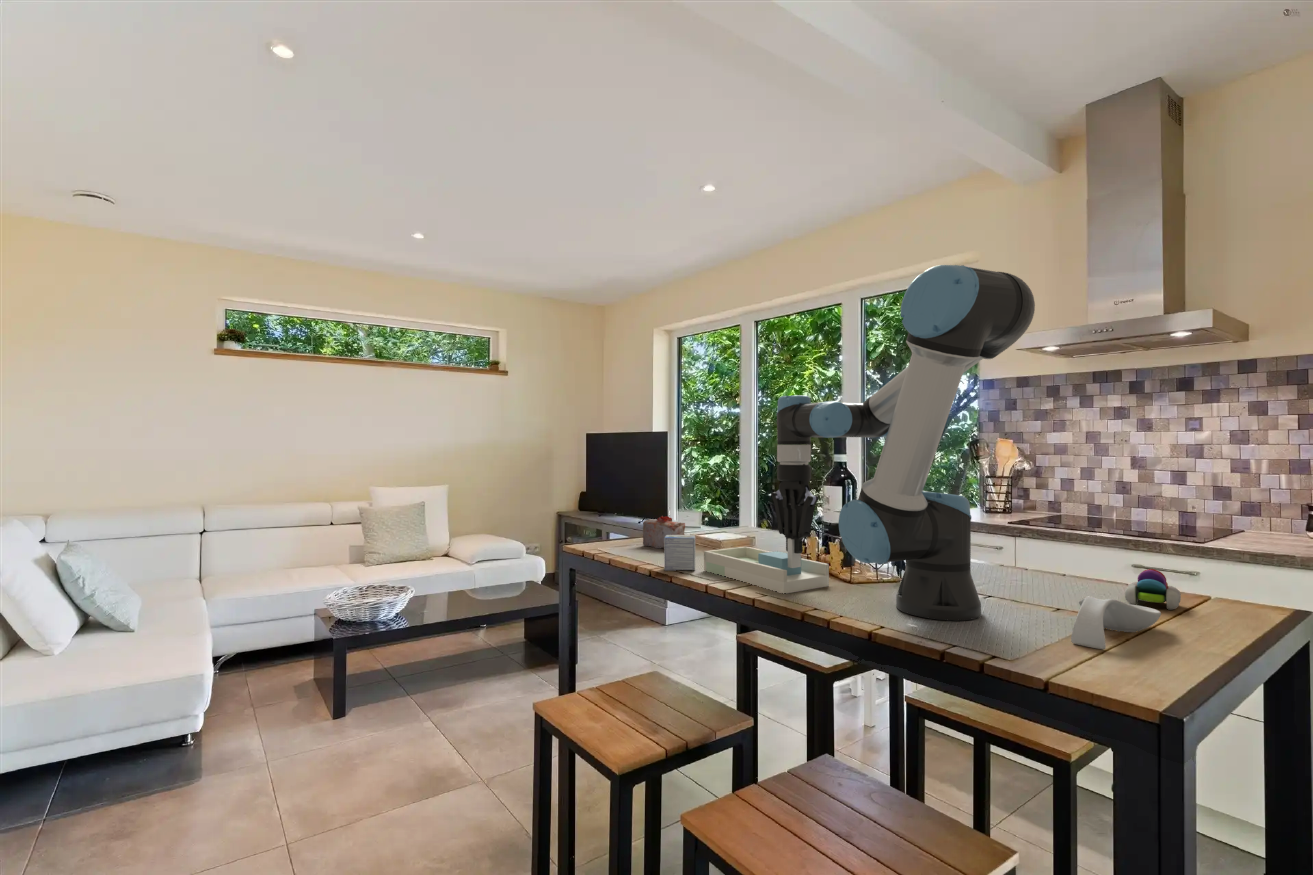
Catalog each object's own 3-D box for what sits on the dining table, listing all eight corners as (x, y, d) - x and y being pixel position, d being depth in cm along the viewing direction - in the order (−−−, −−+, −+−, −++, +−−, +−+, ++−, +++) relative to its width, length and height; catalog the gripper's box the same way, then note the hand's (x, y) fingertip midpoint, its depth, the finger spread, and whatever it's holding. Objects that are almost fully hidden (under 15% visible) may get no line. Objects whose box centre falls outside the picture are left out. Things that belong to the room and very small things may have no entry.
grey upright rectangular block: (695, 568, 165) (695, 534, 165) (694, 571, 160) (694, 537, 161) (665, 567, 166) (665, 534, 166) (664, 570, 161) (664, 537, 161)
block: (801, 573, 146) (801, 556, 146) (782, 576, 142) (781, 558, 142) (777, 567, 152) (777, 551, 152) (758, 570, 149) (758, 553, 149)
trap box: (828, 586, 144) (828, 564, 144) (783, 594, 136) (783, 570, 136) (746, 565, 168) (746, 546, 168) (704, 570, 161) (703, 551, 161)
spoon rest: (1089, 615, 121) (1089, 577, 121) (1167, 628, 112) (1167, 588, 112) (1048, 640, 105) (1047, 597, 105) (1134, 659, 96) (1134, 612, 96)
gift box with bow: (689, 548, 197) (688, 516, 197) (674, 551, 190) (674, 518, 190) (654, 543, 205) (654, 513, 205) (639, 546, 199) (638, 515, 199)
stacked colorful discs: (1181, 604, 128) (1181, 568, 128) (1177, 614, 121) (1177, 576, 121) (1129, 597, 134) (1129, 563, 134) (1123, 606, 126) (1123, 570, 127)
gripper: (827, 464, 140) (827, 570, 140) (786, 462, 151) (786, 560, 151) (802, 464, 136) (803, 573, 136) (762, 463, 147) (762, 564, 147)
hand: (794, 566), depth 144 cm, fingers closed
